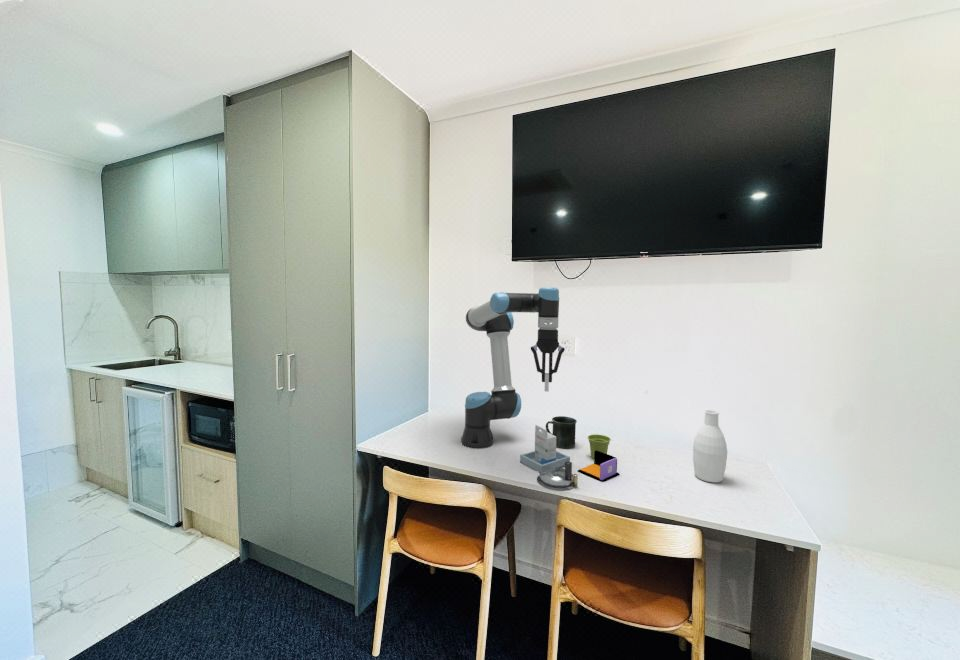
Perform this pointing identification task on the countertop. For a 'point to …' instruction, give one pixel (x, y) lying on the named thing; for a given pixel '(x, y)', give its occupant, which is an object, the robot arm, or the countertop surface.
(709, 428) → the bottle
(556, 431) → the mug
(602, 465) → the miniature room corner
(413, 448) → the countertop surface
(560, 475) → the crank
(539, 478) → the crank base
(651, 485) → the countertop surface
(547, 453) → the ink box
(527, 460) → the tray
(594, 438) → the plant pot
